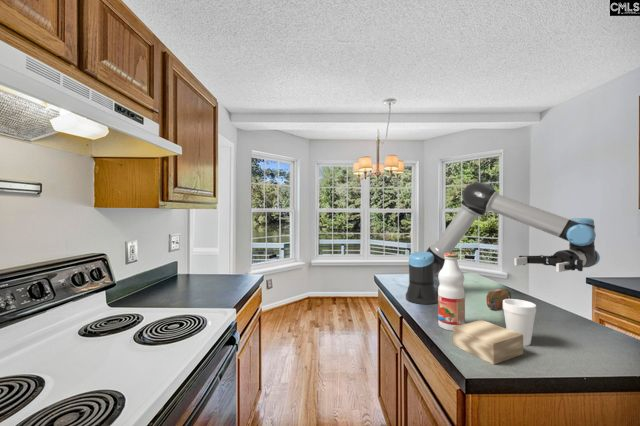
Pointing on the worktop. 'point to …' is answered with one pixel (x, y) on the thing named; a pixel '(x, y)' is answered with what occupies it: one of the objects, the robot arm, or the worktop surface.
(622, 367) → the worktop surface
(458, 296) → the fruit juice
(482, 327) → the maple block
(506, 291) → the tin
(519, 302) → the foam cup
